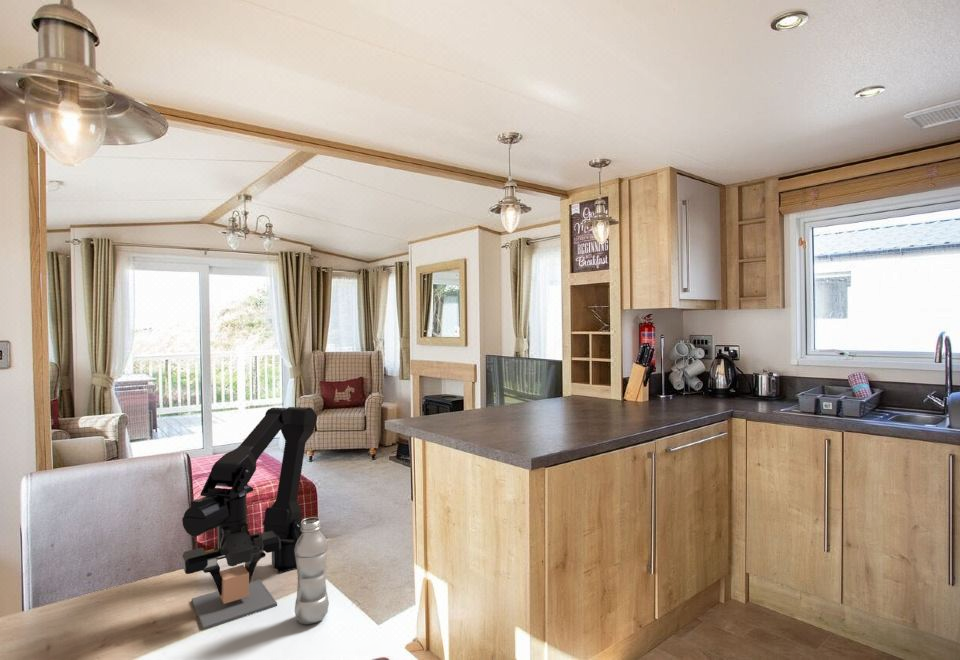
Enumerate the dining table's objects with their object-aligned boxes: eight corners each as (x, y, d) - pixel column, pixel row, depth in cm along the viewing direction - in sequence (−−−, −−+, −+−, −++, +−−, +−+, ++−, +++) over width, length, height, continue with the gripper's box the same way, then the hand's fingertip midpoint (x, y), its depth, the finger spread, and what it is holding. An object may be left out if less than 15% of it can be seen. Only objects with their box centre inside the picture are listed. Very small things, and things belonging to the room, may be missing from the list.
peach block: (243, 587, 115) (243, 564, 115) (249, 596, 111) (248, 572, 111) (218, 594, 112) (218, 571, 112) (223, 604, 108) (223, 580, 108)
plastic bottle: (287, 624, 103) (285, 523, 103) (313, 607, 109) (311, 512, 109) (311, 632, 100) (309, 529, 100) (336, 614, 106) (334, 517, 106)
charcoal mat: (259, 581, 121) (259, 578, 121) (277, 605, 110) (277, 603, 110) (191, 601, 113) (191, 598, 113) (203, 630, 102) (203, 626, 102)
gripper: (189, 541, 99) (191, 622, 99) (288, 518, 111) (289, 591, 111) (180, 524, 108) (182, 599, 108) (273, 504, 120) (274, 572, 120)
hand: (233, 590), depth 111 cm, fingers closed on peach block, 5 cm apart
